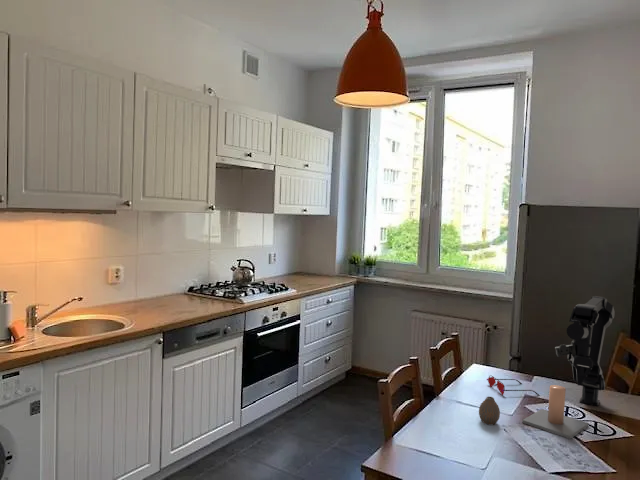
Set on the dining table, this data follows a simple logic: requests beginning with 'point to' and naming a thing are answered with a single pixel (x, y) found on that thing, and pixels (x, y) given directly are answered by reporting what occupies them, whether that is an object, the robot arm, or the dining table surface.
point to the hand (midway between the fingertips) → (577, 382)
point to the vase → (489, 411)
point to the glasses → (501, 385)
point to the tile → (565, 429)
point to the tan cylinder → (556, 404)
